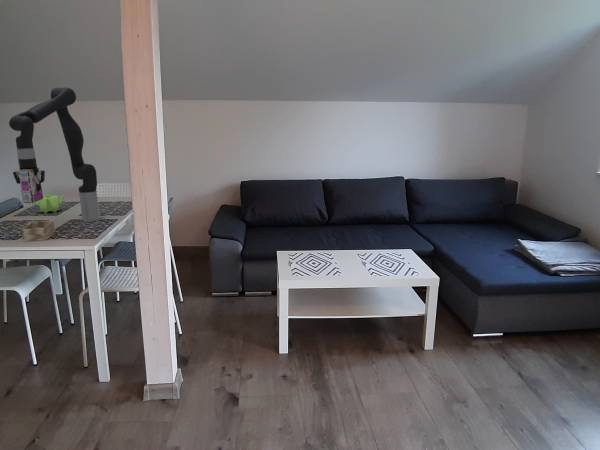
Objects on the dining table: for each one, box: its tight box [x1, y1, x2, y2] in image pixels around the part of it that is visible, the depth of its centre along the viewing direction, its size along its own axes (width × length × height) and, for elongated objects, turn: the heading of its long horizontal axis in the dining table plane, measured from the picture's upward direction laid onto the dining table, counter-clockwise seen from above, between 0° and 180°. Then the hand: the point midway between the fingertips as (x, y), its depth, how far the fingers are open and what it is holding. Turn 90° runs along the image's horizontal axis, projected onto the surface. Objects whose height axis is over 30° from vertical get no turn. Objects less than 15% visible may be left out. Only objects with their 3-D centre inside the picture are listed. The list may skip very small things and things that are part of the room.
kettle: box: [31, 194, 67, 214], centre depth 283 cm, size 15×14×11 cm
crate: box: [20, 219, 56, 243], centre depth 228 cm, size 11×17×6 cm, turn 17°
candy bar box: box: [17, 167, 44, 204], centre depth 222 cm, size 11×5×16 cm, turn 5°
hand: (32, 191), depth 223 cm, fingers closed on candy bar box, 5 cm apart
